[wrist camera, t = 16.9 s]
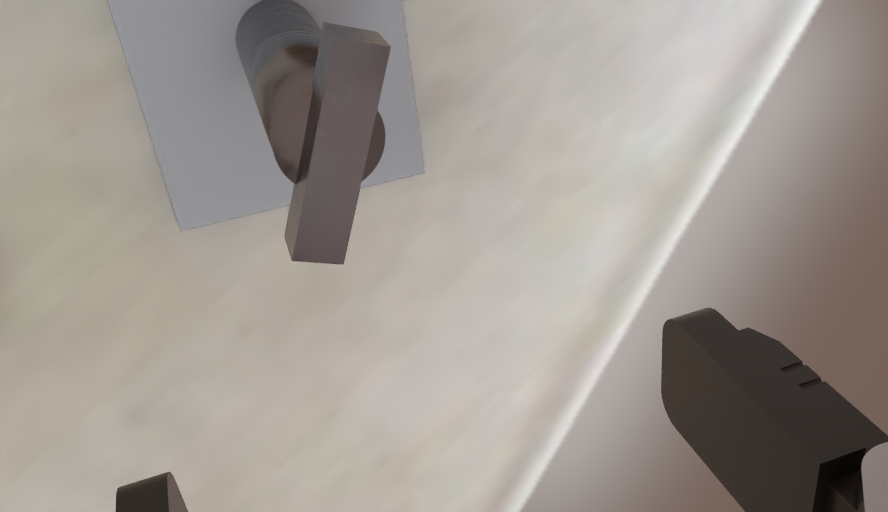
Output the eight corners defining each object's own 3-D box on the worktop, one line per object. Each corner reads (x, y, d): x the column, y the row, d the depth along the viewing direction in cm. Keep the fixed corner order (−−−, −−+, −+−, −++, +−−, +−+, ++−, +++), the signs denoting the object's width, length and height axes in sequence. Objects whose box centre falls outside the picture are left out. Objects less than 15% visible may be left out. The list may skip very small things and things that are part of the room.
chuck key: (333, -36, 30) (422, 52, 21) (304, 124, 32) (371, 266, 23) (248, -54, 29) (300, 30, 19) (224, 113, 31) (261, 258, 22)
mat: (420, 167, 35) (424, 172, 35) (179, 224, 33) (180, 231, 33) (377, -146, 29) (382, -145, 29) (77, -99, 27) (76, -96, 27)
